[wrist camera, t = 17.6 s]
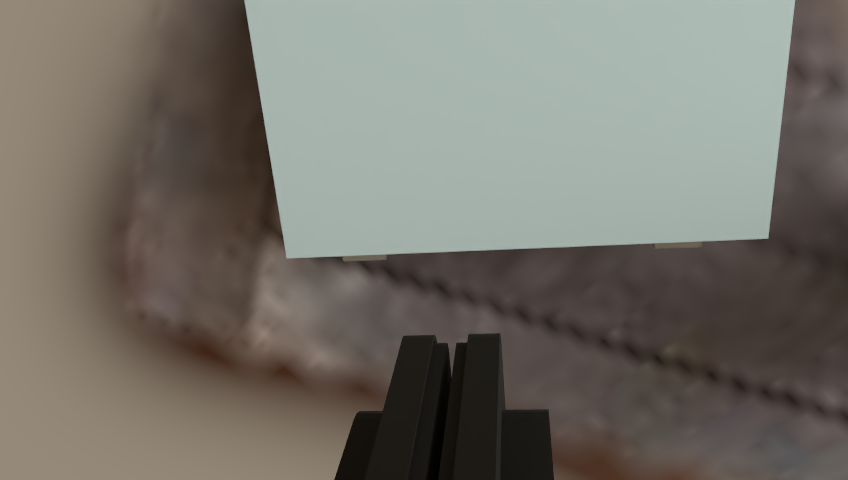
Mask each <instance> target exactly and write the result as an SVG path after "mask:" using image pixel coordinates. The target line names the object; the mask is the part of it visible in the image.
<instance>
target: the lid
mask: <svg viewBox="0 0 848 480" xmlns="http://www.w3.org/2000/svg"><path fill="white" fill-rule="evenodd" d="M244 1H245V7H246V13H247V19H248V25H249V31H250V38H251V44H252V50H253V56H254V62H255V68H256V74H257V80H258V86H259V92H260V99H261V105H262V111H263V117H264V123H265V129H266V135H267V141H268V147H269V154H270V160H271V166H272V172H273V178H274V184H275V190H276V196H277V202H278V209H279V215H280V221H281V227H282V233H283V239H284V245H285V251H286V257H287V258H309V257H333V256H358V255H382V254H406V253H431V252H455V251H479V250H504V249H528V248H552V247H577V246H601V245H625V244H650V243H674V242H698V241H722V240H747V239H768V236H769V227H770V218H771V209H772V200H773V191H774V183H775V174H776V165H777V156H778V147H779V138H780V129H781V120H782V111H783V102H784V94H785V85H786V76H787V67H788V58H789V49H790V40H791V31H792V22H793V13H794V4H795V0H244Z"/></svg>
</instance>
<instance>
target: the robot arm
mask: <svg viewBox="0 0 848 480" xmlns="http://www.w3.org/2000/svg"><path fill="white" fill-rule="evenodd" d="M334 480H554V475H553V462H552V449H551V436H550V423H549V411H548V410H505V395H504V379H503V363H502V347H501V335H500V333H497V334H469V335H468V343H457V344H456V350H455V357H454V365H453V372H452V378H451V368H450V358H449V348H448V344H447V343H437V340H436V336H435V335H418V336H403V338H402V342H401V346H400V349H399V353H398V357H397V360H396V364H395V368H394V372H393V375H392V379H391V383H390V387H389V390H388V394H387V398H386V401H385V405H384V409H383V411H360V412H358V413H357V414H356V416H355V418H354V421H353V424H352V427H351V430H350V433H349V436H348V439H347V442H346V446H345V449H344V452H343V455H342V458H341V461H340V464H339V467H338V470H337V473H336V477H335V479H334Z"/></svg>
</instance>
